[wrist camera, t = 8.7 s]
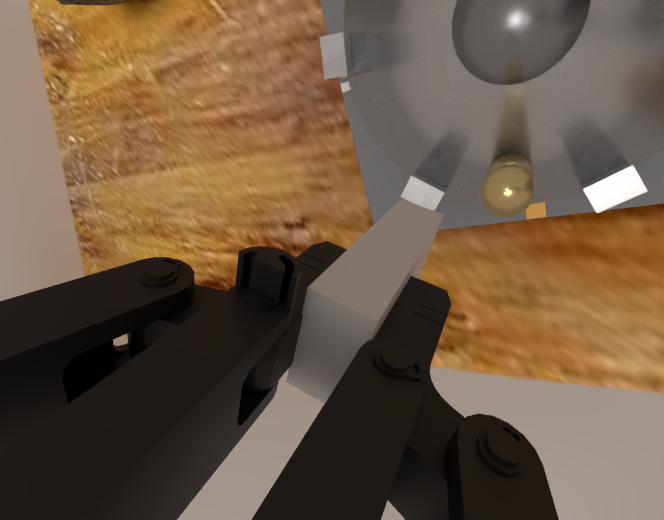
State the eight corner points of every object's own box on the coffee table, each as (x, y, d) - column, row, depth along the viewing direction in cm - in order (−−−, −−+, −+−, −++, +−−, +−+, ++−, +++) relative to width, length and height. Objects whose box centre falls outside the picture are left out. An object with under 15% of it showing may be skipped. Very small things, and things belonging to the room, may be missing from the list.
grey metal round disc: (327, -123, 24) (251, -200, 17) (868, -354, 14) (1169, -734, 7) (360, 199, 31) (317, 232, 25) (725, 192, 22) (812, 242, 15)
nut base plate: (831, -430, 15) (863, -483, 13) (770, 182, 22) (787, 189, 21) (306, -97, 26) (293, -106, 25) (381, 231, 34) (375, 238, 32)
